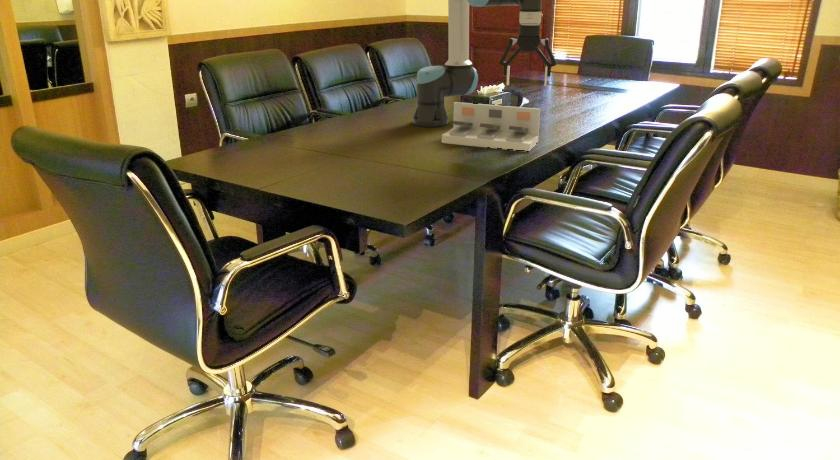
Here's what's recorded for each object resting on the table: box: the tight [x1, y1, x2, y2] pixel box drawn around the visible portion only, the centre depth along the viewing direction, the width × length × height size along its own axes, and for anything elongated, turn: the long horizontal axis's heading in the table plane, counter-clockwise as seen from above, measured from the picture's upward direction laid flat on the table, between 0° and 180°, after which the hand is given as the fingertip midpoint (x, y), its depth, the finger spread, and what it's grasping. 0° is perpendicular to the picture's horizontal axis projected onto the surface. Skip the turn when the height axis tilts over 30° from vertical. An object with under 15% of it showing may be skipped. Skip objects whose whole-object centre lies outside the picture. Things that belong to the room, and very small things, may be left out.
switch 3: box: [509, 126, 528, 132], centre depth 238 cm, size 5×10×1 cm, turn 158°
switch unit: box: [441, 101, 541, 152], centre depth 242 cm, size 34×14×13 cm, turn 68°
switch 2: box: [480, 123, 500, 129], centre depth 242 cm, size 5×10×1 cm, turn 158°
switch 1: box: [451, 120, 473, 126], centre depth 246 cm, size 5×10×1 cm, turn 158°
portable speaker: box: [501, 87, 524, 107], centre depth 296 cm, size 25×10×10 cm, turn 117°
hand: (526, 85), depth 234 cm, fingers open, 13 cm apart
